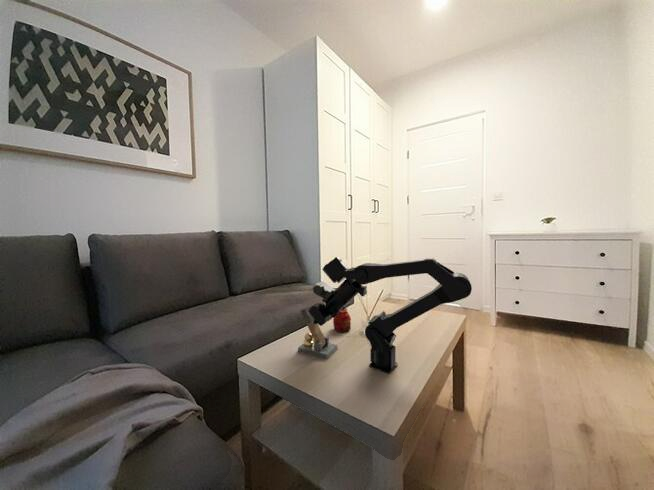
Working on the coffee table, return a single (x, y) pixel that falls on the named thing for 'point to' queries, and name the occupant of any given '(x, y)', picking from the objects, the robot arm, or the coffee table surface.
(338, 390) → the coffee table surface
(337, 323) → the decorative doll
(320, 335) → the lever
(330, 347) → the base
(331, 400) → the coffee table surface
